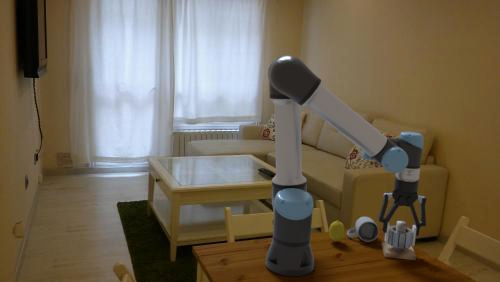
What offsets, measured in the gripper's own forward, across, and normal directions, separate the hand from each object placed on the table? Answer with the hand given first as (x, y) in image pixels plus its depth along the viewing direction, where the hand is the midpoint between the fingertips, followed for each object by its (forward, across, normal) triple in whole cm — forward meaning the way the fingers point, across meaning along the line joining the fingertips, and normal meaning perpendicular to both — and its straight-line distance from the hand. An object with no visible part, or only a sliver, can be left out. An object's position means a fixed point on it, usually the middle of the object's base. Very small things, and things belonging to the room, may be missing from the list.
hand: (399, 242), depth 158 cm
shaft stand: (+4, 0, 0) cm, 4 cm away
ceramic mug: (+4, -11, +11) cm, 16 cm away
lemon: (+4, -21, +4) cm, 22 cm away
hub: (0, 0, 0) cm, 0 cm away
